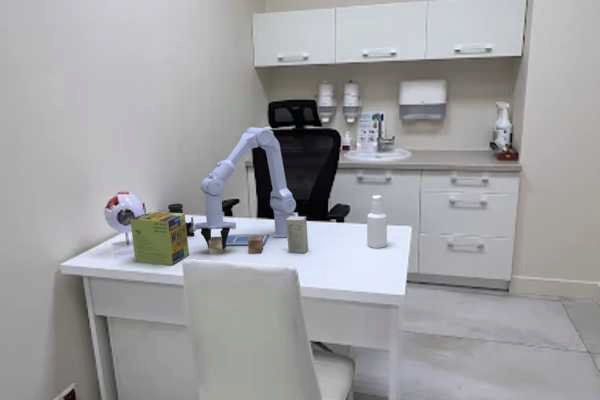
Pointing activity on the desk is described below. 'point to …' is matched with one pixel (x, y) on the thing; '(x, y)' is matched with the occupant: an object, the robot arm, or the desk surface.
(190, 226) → the scope
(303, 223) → the skincare box
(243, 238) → the board
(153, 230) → the protein box
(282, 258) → the desk surface
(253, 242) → the walnut block
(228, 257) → the desk surface
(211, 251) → the maple block
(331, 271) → the desk surface
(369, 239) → the spray bottle
